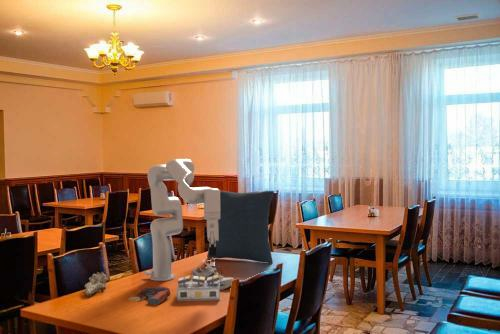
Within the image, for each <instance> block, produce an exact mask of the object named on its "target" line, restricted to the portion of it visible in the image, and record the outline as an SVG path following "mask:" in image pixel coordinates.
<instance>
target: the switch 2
mask: <svg viewBox="0 0 500 334" xmlns="http://www.w3.org/2000/svg"><path fill="white" fill-rule="evenodd" d="M191 280H192V279H191ZM192 282H200V283H205V277H199V276H193V280H192Z"/></svg>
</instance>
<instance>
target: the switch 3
mask: <svg viewBox="0 0 500 334" xmlns="http://www.w3.org/2000/svg"><path fill="white" fill-rule="evenodd" d="M218 280H219V275H215V276H213V277H212V276H211V277H208V278H207V284H208V283H211V282H215V281H218Z"/></svg>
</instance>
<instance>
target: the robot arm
mask: <svg viewBox="0 0 500 334" xmlns="http://www.w3.org/2000/svg"><path fill="white" fill-rule="evenodd" d="M194 172H195V164H194V162H193V161H192V160H191V159H189V158H173V159H170V160H169V161H167V162H166V163H165V164H164V163H163V164H161V163H160V164H154V165H151V167H150V168H148V171H147V181H148V185H149V190H150V197H151V199H150V200H151V211H152V213H153V214H154V215H155V216H158V217H159V216H169V217H162V218H160V217H159V218H156V219H154V220H152V222H151V223H150V228H149V230H150V233H151V240H152V241H151V242H152V269H151V270H145V271H144V275H146V276H149V277H150V279H149V280H151V281H154V282H165V281H166V282H167V281H171V280H173V279H175V278H176V277H175V274H174V273H172V243H171V240H169V239H168V237H169V236H175V235H180V233H182V231H183V230H184V220H183V218H184V216H183V206H182V202H181V200H180V198H179V197H177V196H169V195H168V188H167V186H166V184H165V183H164V182H163V181H175V182H176V183H177V192H178V195H179V196H180V197H181V198H182V199H183V200H184V201H185V202H186V203H187V204H189V205H196V204H203V219H204V220H206V233H207V234H206V236H207V241H208V242H209V243H210V246H209V245H208V250H209V256H216V240H217V241H218V240H219V222H218V219H220V218H221V217H220V191H221V190H220V189H219V188H213V187H210V186H198V187H195V186H194V187H190V186H191V185H192V183H193V182H194V180H195V174H194Z"/></svg>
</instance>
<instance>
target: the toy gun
mask: <svg viewBox="0 0 500 334" xmlns="http://www.w3.org/2000/svg"><path fill="white" fill-rule="evenodd" d="M143 296H145V299H144V298H143ZM169 296H171V290H170V288H168V287H166V286H156V287H146V288H143V289H141V290H140V292H139V293H138V294H136V296H129V298H128V301H137V302H138V301H145V300H147V304H149V305H159V304H160V305H161V303H163V302H164V301H165V300H166V298H168V297H169Z"/></svg>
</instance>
